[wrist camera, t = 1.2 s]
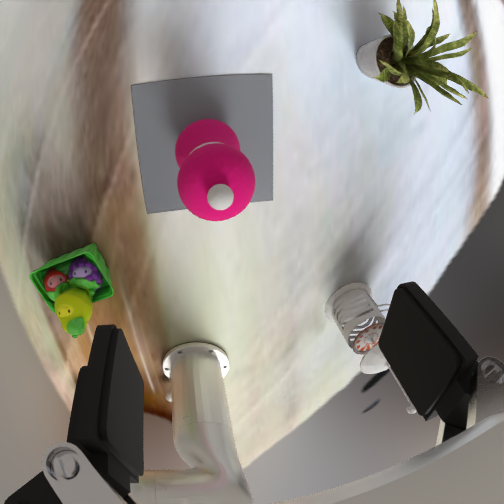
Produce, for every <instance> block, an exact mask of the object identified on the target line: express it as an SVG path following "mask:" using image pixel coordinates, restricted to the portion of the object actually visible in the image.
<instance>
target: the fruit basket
mask: <svg viewBox="0 0 504 504" xmlns="http://www.w3.org/2000/svg"><path fill="white" fill-rule="evenodd" d="M30 279H31V281H32V283H33V284H34V286H35V287H36V288H37V290H38V291H39V293H40V294H41V296H42V298H43V299H44V300H45V302H46V303H47V305H48V306H49V308H50V309H51V310H52V311H53V312H54V313H56V315H57V317H58V318H59V320H60V322H61V325H62V327H63V329H64V330H65V331H66V332H67V333H69V334H71V335H72V337H73V338H77V335H81V334H83V333H84V331H85V329H86V326H87V323H88V321H89V319H90V317H91V315H92V303H93V302H97V301H100V300H103V299H106V298H109V297H111V296H112V295H113V293H114V292H113V287H112V285H111V278H110V270H109V268H108V267H107V266H106V264H105V261H104V259H103V257H102V255H101V253H100V252H99V251H98V250H97V246H96V244H95V243H92V244H89V245H87V246H86V247H84V248H79V249H77V250H74V251H72V252H71V253H67V254H64V255H62V256H60V257H59V258H54V259H52V260H50V261H48V262H47V263H46V264H44V265H43V266H42V267H40V268H39V269H37V270H35V271H33V272H32V273H31V274H30Z"/></svg>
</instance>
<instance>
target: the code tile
mask: <svg viewBox="0 0 504 504" xmlns="http://www.w3.org/2000/svg"><path fill="white" fill-rule="evenodd" d="M131 89H132V101H133V112H134V122H135V131H136V140H137V148H138V156H139V164H140V171H141V178H142V184H143V191H144V197H145V203H146V209H147V214H150V213H158V212H166V211H174V210H182V209H187V208H186V206H185V205H184V204H183V202H182V200H181V198H180V196H179V192H178V188H177V177H178V173H179V170H180V168H179V166H178V164H177V161H176V157H175V146H176V142H177V139H178V137H179V135H180V134H181V132H182V131H183V130H184V129H185V128H186V127H187V126H189V125H190V124H192V123H194V122H196V121H199V120H202V119H215V120H218V121H221V122H223V123H225V124H227V125H228V126H229V127H230V128H231V129H232V130H233V131H234V132H235V134H236V136H237V137H238V140H239V144H240V151H241V152H242V153H243V154H244V155H245V156H246V157H247V158H248V159H249V161H250V163H251V165H252V167H253V170H254V174H255V191H254V194H253V196H252V199H251V201H250V202H260V201H271V200H273V93H272V74H252V75H223V76H207V77H195V78H184V79H175V80H167V81H159V82H152V83H145V84H139V85H133V86H131Z"/></svg>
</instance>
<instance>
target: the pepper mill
mask: <svg viewBox="0 0 504 504" xmlns="http://www.w3.org/2000/svg"><path fill="white" fill-rule="evenodd" d="M175 157H176V161H177V164H178V166H179V168H180V170H179V173H178V177H177V188H178V192H179V196H180V198H181V200H182V202H183V204H184V205H185V206H186V208H187V209H188V210H189V211H190V212H192V213H193V214H194V215H196V216H198V217H199V218H202V219H205V220H209V221H222V220H226V219H229V218H232V217H234V216H236V215H237V214H239V213H240V212H242V211H243V210H244V209H245V208H246V206H247V205H248V204H249V202H250V201H251V199H252V196H253V194H254V191H255V174H254V170H253V167H252V165H251V163H250V161H249V159H248V158H247V157H246V156H245V155H244V154H243V153H242V152H241V151H240V144H239V140H238V137H237V136H236V134H235V132H234V131H233V130H232V129H231V128H230V127H229V126H228V125H227V124H225V123H223V122H221V121H218V120H215V119H202V120H199V121H196V122H194V123H192V124H190V125H189V126H187V127H186V128H185V129H184V130H183V131H182V132H181V134H180V135H179V137H178V139H177V142H176V146H175Z"/></svg>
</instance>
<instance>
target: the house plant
mask: <svg viewBox="0 0 504 504" xmlns="http://www.w3.org/2000/svg"><path fill="white" fill-rule="evenodd" d="M393 12H394V11H393ZM432 12H433V18H432V23H431V26H430V27H428V28H427V30H426V34H425V35H424V36H423V38H422V39H421V40H420V41H419V42H418V43H417V44H416V45H415V46H413V42H414V38H415V32H414V30H413V29H412V27H411V24H410V23H409V21H407V17H406V11H405V8H404V5H403V12H402V7H401V4H400V0H397V13H395V12H394V19H395V21H393V20H392V19H391V18H389V17H387V16H385V15H383V14H380V13H379V14H380V15H381V18H382V21H383V23H384V25H385V26H386V28H387V29H388V31H389V32H390V33H391V34H389V35H386V36H384V37H381V38H379V39H376V40H374V41H372V42H369V43H367V44H365V45H363V46H361V47H360V48H359V50H358V52H357V55H356V61H357V65H358V67H359V69H360V71H361V72H362V73H363V74H364V75H366V76H368V77H370V78H372V79H375V80H378V81H380V82H383V83H386V84H388V85H391V86H393V87H397V88H405V87H407V86H409V85H411V86H412V90H413V94H414V100H415V107H416V110H415V113H416V112H418V111H419V110H420V109H421V106H422V99H421V96H420V93H419V91H418V88H417V87H416V85H415V83H414V81H416V78H419V79H421V80H422V81H424V82H425V83H427V84H429V85H430V86H432V87H433V88H434V89H436V90H437V91H438V92H439V93H441V94H442V95H444V96H446V97H447V98H449V99H451V100H453V101H455V102H457V103H459V104H461V103H460V102H459V101H458V100H456V99H455V98H454V97H453V96H452V95H451V94H449V93H448V92H447V91H445V90H444V89H446V90H448V91H449V92H451V93H453V94H456V95H458V96H460V97H463V98H466V97H465V96H463V95H462V94H460V93H459V92H458V91H456V90H455V89H453V88H451V87H450V86H448V85H447V79H448V80H451V81H453V82H455V83H457V84H459V85H461V86H463V87H464V89H465V90H466V91H467V92H468V90H467V89H469V90H471V91H473V92H476V93H479V94H480V95H482V96H483V97H486V98H488V97H487V96H486V94H485V93H484V92H483V91H482V90H481V89H480V88H478V87H477V86H476V85H474V84H473V83H471V82H470V81H468V80H466V79H465V78H463V77H461V76H459V75H457V74H455V73H452V72H451V71H449V70H448V69H447V68H446V67H444V66H443V65H442V64H440V63H438V62H435V61H437V60H441V59H447V58H454V57H459V56H462V55H464V54H466V53H467V52H468V51H470V49H471V48H469V49H467V50H464V51H461V52H457V53H451V54H445V55H441V56H436V57H432V56H435V55H437V54H439V53H442V52H446V51H450V50H453V49H457V48H460V47H462V46H465V45H466V44H467V43H468V42H469V41H470V40H471V39H472V38H473V37H474V36H475V35H476V32H477V31H476V32H474V33H472V34H471V35H469V36H467V37H465V38H463V39H460V40H457V41H454V42H450V43H446V44H443V45H441V46H439V47H437V48H435V45H436V44H439V43H441V42H443V41H444V40H445V39H446V38H447V37H448V36H449V34H447V35H444V36H441V37H438V38H436V37H435V36H436V34H437V32H438V29H439V25H440V20H439V13H438V7H437V2H436V0H434V11H433V8H432ZM434 38H435V39H434ZM408 39H409V41H408ZM433 45H434V46H433ZM430 46H433V47H432V48H431V49H430V50H429V51H427V52H424V51H425V50H426V49H427V48H428V47H430ZM422 52H424V53H422ZM421 53H422V54H421ZM429 57H431V58H429ZM416 83H417V85H418V87H419V90H420V91H421V93H422V95H423V97H424V99H425V101H426V103H427V105H428V102H427V99H426V97H425V95H424V93H423V91H422V89H421V87H420V85H419V84H418V82H417V81H416ZM439 85H440V86H442V87H443V88H444V89H442V88H441V87H439ZM468 93H469V92H468ZM466 99H467V98H466ZM488 99H489V98H488ZM461 105H462V104H461ZM428 107H429V105H428ZM429 109H430V108H429ZM430 112H431V111H430Z"/></svg>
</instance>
